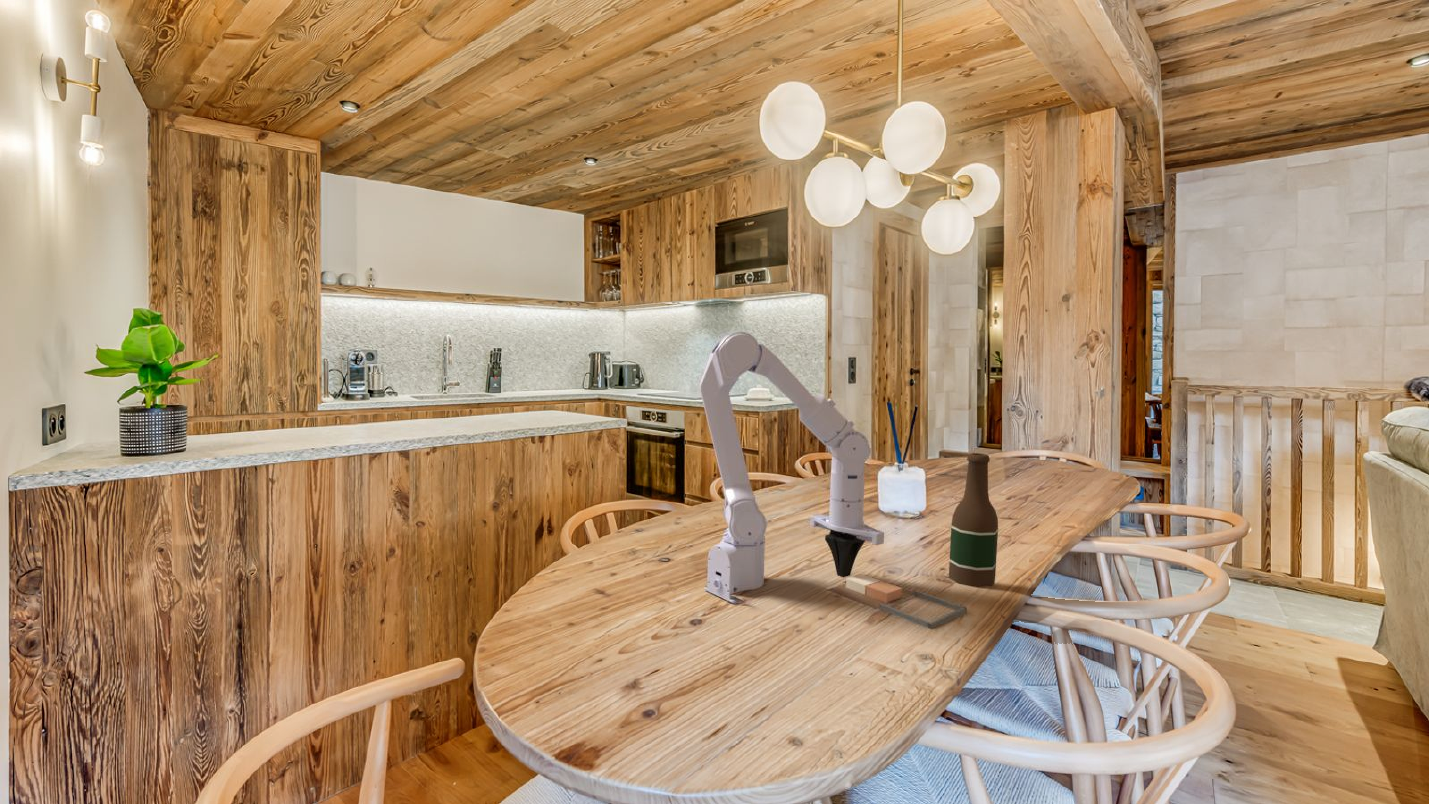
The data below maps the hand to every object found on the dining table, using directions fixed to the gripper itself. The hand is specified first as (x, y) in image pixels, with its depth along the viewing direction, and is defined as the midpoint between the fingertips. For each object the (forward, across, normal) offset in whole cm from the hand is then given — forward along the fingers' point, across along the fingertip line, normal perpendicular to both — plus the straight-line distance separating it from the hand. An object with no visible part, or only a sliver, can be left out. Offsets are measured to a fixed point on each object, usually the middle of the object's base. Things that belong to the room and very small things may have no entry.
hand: (843, 575), depth 112 cm
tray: (+2, -16, 0) cm, 16 cm away
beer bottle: (+3, -13, -19) cm, 24 cm away
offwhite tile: (+1, -4, 0) cm, 4 cm away
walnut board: (+2, -6, 0) cm, 6 cm away
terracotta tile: (+1, -8, 0) cm, 8 cm away
